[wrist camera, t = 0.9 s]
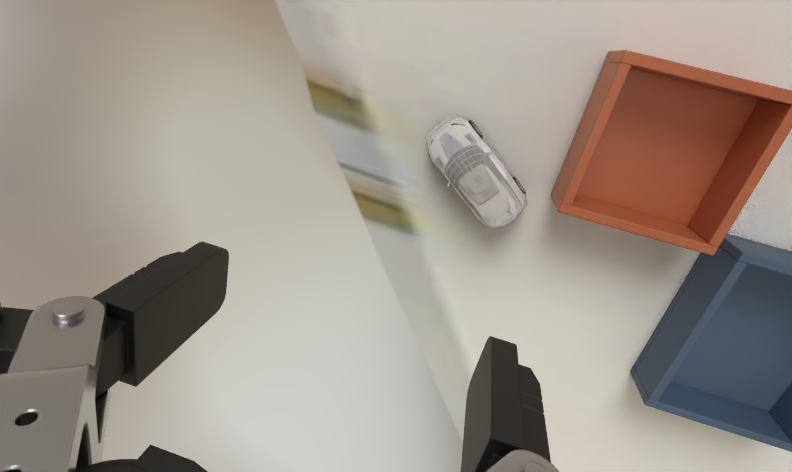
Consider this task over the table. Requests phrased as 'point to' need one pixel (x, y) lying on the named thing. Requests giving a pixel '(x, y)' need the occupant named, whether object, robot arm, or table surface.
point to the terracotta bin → (671, 149)
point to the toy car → (476, 171)
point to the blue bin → (727, 344)
